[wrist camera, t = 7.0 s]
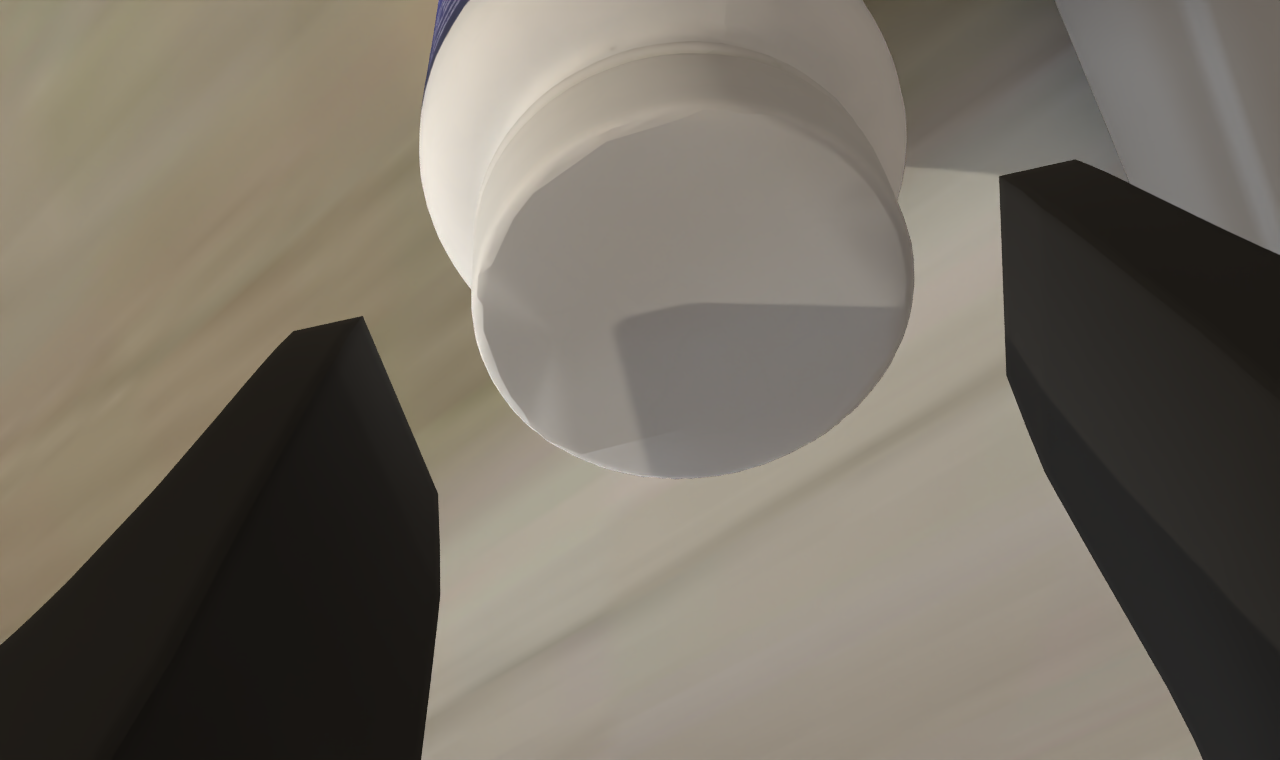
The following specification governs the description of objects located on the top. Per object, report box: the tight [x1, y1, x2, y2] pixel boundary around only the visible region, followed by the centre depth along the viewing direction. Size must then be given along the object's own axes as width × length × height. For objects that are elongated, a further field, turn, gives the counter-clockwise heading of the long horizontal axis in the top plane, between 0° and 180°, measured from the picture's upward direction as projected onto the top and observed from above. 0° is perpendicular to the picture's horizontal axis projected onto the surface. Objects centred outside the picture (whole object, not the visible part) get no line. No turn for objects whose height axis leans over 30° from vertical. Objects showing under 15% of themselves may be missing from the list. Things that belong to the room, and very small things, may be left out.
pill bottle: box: [419, 0, 914, 479], centre depth 14 cm, size 5×5×9 cm
